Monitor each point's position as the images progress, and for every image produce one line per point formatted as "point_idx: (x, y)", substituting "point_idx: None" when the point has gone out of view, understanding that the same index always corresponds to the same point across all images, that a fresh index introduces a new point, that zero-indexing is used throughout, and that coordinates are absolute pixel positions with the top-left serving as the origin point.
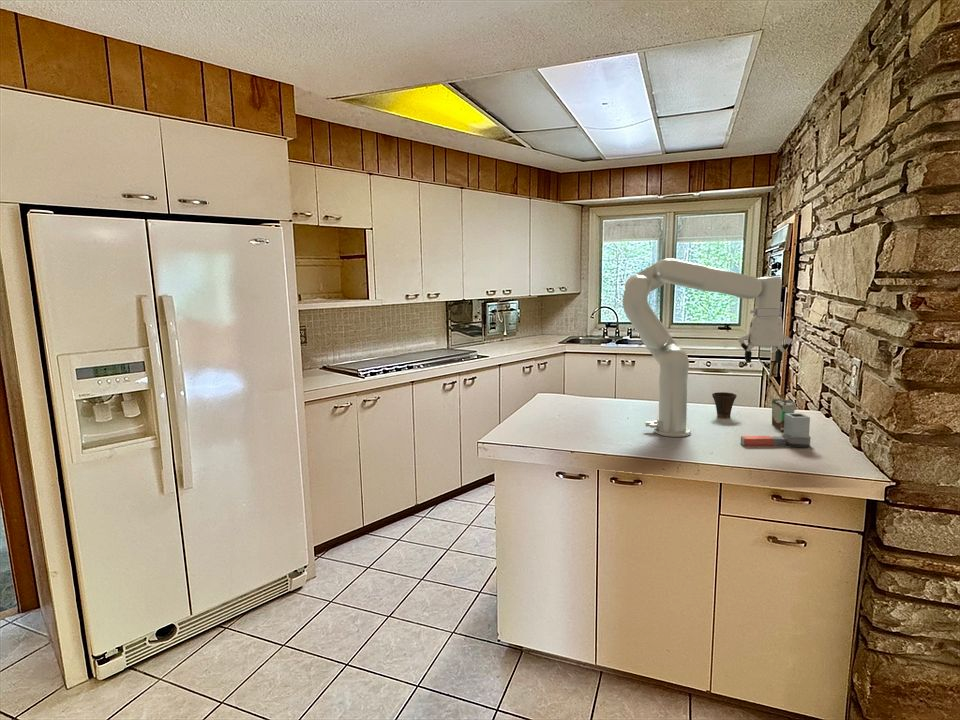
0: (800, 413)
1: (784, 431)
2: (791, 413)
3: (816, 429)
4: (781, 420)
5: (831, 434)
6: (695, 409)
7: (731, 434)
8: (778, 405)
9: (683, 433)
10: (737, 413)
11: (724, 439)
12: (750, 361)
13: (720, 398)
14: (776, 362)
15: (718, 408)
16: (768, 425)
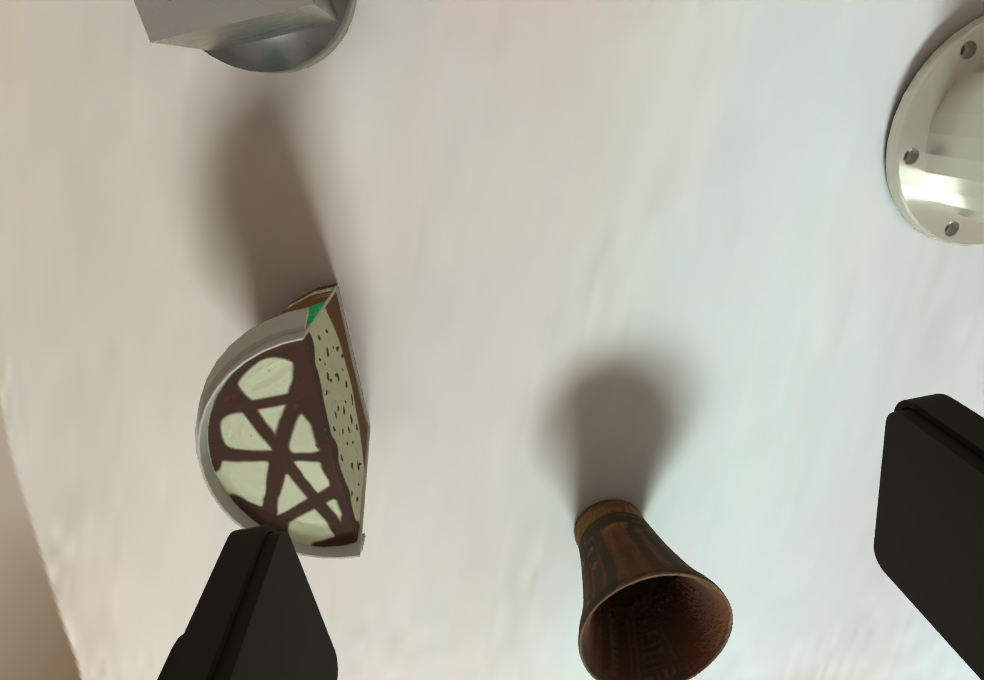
0: (163, 29)
1: (332, 7)
2: (249, 13)
3: (119, 391)
4: (325, 302)
5: (29, 297)
6: None
7: (643, 162)
8: (329, 425)
9: (974, 33)
10: (521, 611)
11: (714, 22)
12: (921, 408)
13: (690, 569)
14: (313, 620)
15: (662, 541)
16: (390, 416)
